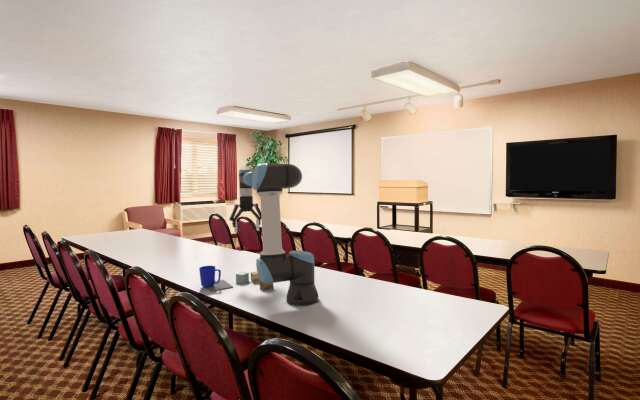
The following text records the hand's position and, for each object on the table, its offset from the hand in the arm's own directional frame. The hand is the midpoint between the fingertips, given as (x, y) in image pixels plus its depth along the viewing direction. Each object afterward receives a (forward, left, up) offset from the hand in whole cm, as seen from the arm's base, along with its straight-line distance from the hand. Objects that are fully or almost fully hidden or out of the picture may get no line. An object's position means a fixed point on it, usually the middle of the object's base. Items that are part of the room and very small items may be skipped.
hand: (247, 231), depth 211 cm
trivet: (-8, +21, -27) cm, 35 cm away
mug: (-8, +24, -26) cm, 37 cm away
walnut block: (-28, +1, -27) cm, 39 cm away
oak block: (-12, 0, -27) cm, 29 cm away
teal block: (-9, +7, -27) cm, 29 cm away
